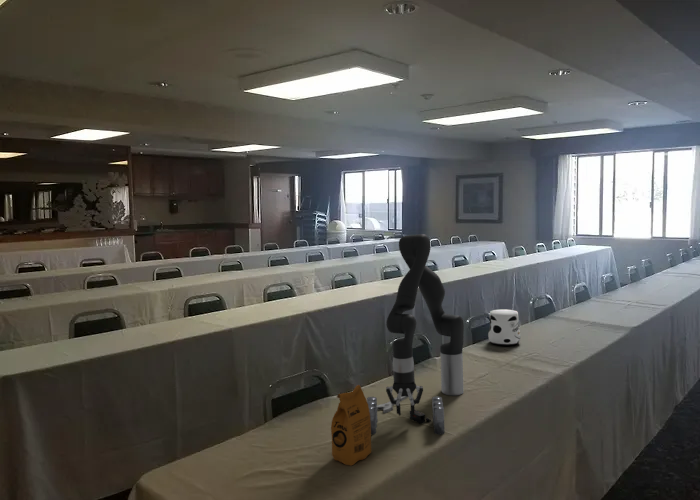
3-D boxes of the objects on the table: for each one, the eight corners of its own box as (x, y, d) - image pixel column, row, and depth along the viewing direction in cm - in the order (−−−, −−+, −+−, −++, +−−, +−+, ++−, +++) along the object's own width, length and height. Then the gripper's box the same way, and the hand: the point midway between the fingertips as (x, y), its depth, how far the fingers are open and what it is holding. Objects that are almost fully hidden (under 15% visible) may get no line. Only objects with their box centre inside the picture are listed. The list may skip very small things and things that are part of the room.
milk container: (526, 346, 286) (525, 313, 284) (496, 348, 283) (495, 316, 282) (512, 338, 303) (511, 308, 301) (483, 340, 301) (483, 310, 299)
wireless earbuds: (421, 425, 190) (421, 417, 189) (409, 419, 196) (408, 411, 195) (431, 422, 192) (431, 413, 192) (418, 416, 198) (418, 407, 198)
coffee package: (327, 459, 167) (324, 392, 165) (353, 445, 176) (350, 381, 174) (350, 468, 160) (347, 399, 158) (376, 453, 169) (373, 387, 168)
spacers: (368, 419, 196) (367, 396, 196) (442, 419, 193) (441, 396, 192) (365, 434, 184) (364, 409, 183) (445, 434, 181) (444, 409, 180)
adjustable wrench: (409, 393, 223) (409, 389, 223) (421, 396, 219) (421, 392, 219) (371, 411, 205) (371, 407, 205) (384, 415, 201) (383, 410, 201)
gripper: (423, 364, 191) (425, 410, 192) (384, 365, 192) (386, 410, 194) (423, 371, 183) (425, 418, 185) (383, 372, 185) (385, 419, 186)
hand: (405, 414), depth 189 cm, fingers open, 4 cm apart
